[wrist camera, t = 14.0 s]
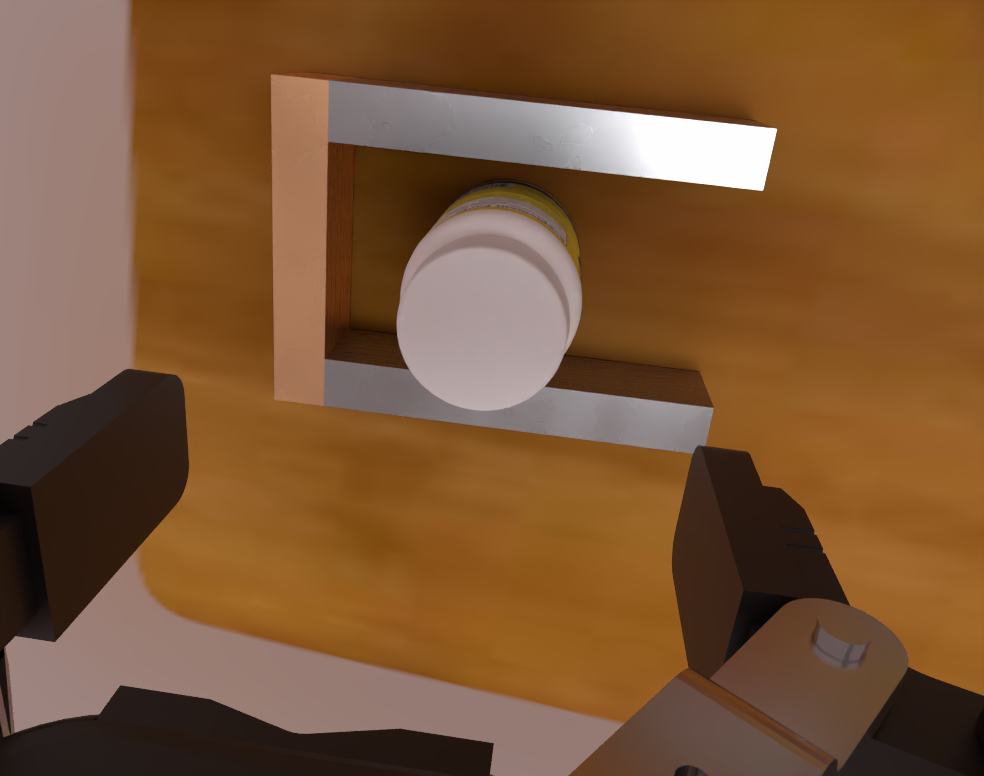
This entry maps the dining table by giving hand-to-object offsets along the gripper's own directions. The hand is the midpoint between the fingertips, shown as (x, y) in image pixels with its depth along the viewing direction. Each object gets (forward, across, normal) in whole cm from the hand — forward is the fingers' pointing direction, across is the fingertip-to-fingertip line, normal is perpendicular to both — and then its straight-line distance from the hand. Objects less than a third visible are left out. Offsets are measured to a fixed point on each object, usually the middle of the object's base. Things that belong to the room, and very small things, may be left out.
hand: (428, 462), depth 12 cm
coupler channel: (+15, -1, 0) cm, 15 cm away
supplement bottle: (+15, 0, 0) cm, 15 cm away
